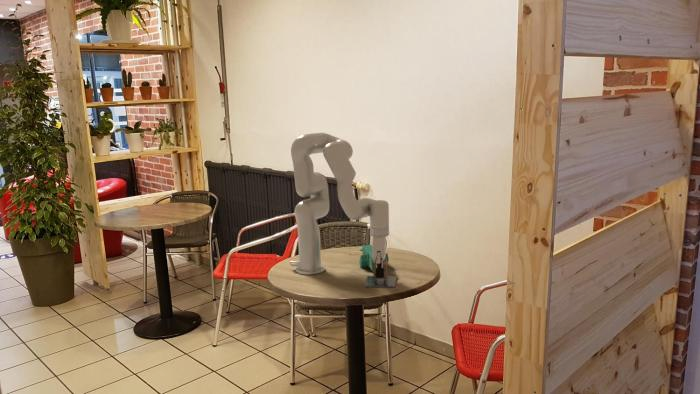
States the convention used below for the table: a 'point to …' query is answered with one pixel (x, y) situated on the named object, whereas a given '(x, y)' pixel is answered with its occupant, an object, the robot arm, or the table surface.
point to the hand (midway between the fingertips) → (380, 274)
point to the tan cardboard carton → (383, 267)
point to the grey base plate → (381, 282)
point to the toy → (368, 256)
